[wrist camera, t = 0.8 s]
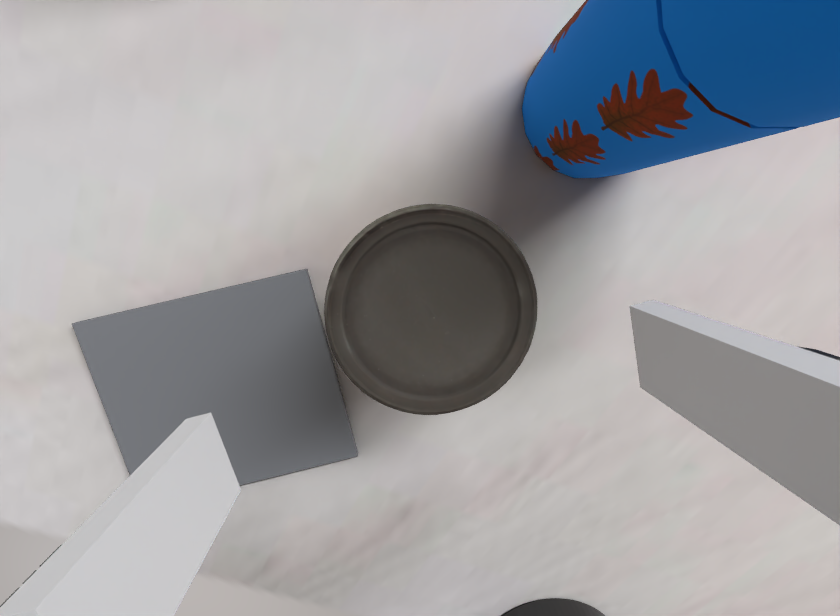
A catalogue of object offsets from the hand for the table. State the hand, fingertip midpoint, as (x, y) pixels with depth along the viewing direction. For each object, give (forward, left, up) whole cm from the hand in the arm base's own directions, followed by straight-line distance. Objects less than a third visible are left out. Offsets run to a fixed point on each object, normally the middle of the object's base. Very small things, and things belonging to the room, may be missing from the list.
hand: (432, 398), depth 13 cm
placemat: (-4, +16, -22) cm, 27 cm away
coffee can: (+1, -1, -22) cm, 22 cm away
